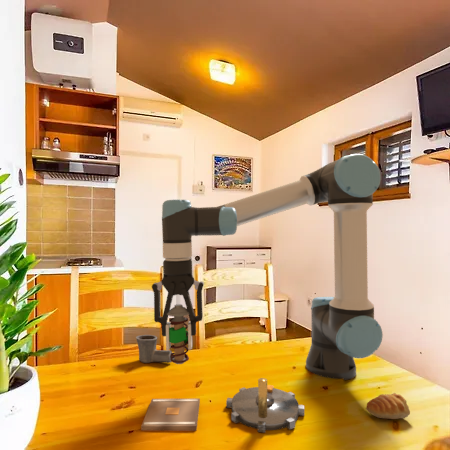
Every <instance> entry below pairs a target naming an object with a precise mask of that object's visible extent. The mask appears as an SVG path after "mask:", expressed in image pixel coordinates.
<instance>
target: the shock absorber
mask: <svg viewBox="0 0 450 450" xmlns="http://www.w3.org/2000/svg"><path fill="white" fill-rule="evenodd" d="M167 315H168V317H172V318H169V321H168V322H170V328H169V342H171V344H172V345H171V347H170V349H174V352H172V353H171V356H173V357H171V359H170V360H171V362H170V363H173V364H176V365H182V364H184V363H186V362H188V361H189V359H190V357H189V355H188V354H187V353H188V352H189V350H188V347H187V345H188V323H186V322H189V317H188V318H187V317H186V316H189V312H188V311H187V307H185V306H183V304H181V303H177V304H174V306H173V307H172V308H170V310H169V312H168V314H167ZM172 326H173V327H172Z"/></svg>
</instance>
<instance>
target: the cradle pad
mask: <svg viewBox="0 0 450 450" xmlns="http://www.w3.org/2000/svg"><path fill="white" fill-rule="evenodd" d="M200 400H201V399H200V398H151V400H150V403H149V405H148V408H147V410H146V413H145V416H144V418H143V421H142V423H141V426H140V428H141V431H175V432H176V431H178V432H180V431H182V432H183V431H187V432H188V431H197V429H198V420H199V412H200V411H199V410H200V405H201V404H200Z"/></svg>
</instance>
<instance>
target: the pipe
mask: <svg viewBox="0 0 450 450" xmlns="http://www.w3.org/2000/svg"><path fill="white" fill-rule="evenodd" d="M135 339H136V342H137V347H138V360H139V362H141V363H143V364H148V363H165V364H166V363H167V364H168V363H172V362H171V360H170V359H171V357H173V356H171V353H173V351H172V350H171V349H169V350H166V349H163V350H161V349H157V343H158V337H157V336H156V335H153V334H141V335H137V336H135Z"/></svg>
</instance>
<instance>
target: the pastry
mask: <svg viewBox="0 0 450 450" xmlns="http://www.w3.org/2000/svg"><path fill="white" fill-rule="evenodd" d="M365 410H366V411H367V412H368V413H369V414H371V415H372V416H374V417H377V418H380V419H388V420H390V419H391V420H396V419H397V420H399V419H406V418H408V416H409V415H410V414H411V411H410V406H409V405H408V404H407V400H406V399H405V398H404V397H403V396H402V395H401V394H397V393H395V392H393V393H391V394H390V393H389V394H383V393H382V394H379V395H378V396H377V397H374V398H372V399H370V400H369V401H368V402H366V408H365Z"/></svg>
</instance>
